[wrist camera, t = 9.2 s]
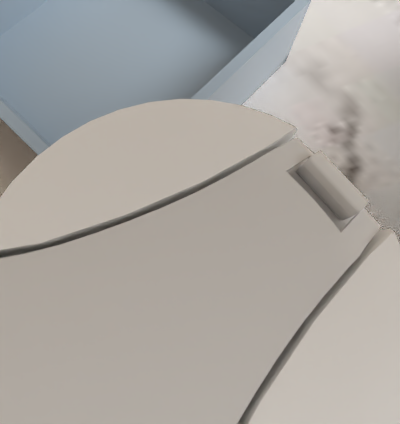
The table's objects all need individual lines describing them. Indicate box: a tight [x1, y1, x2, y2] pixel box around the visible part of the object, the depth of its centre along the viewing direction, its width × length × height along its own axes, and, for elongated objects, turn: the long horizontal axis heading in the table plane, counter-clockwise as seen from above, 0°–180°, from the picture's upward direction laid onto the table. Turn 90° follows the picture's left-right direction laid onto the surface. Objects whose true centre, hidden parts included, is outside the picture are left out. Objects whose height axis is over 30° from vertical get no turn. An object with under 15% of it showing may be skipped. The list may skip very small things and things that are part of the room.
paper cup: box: [0, 99, 400, 424], centre depth 11 cm, size 8×8×14 cm
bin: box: [0, 0, 311, 155], centre depth 26 cm, size 26×26×7 cm
